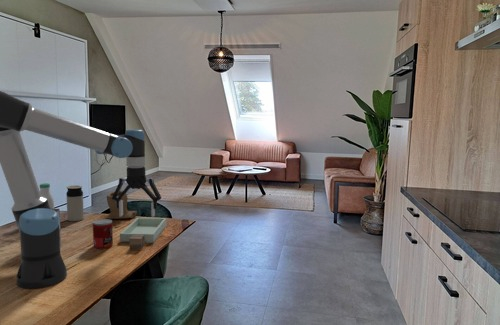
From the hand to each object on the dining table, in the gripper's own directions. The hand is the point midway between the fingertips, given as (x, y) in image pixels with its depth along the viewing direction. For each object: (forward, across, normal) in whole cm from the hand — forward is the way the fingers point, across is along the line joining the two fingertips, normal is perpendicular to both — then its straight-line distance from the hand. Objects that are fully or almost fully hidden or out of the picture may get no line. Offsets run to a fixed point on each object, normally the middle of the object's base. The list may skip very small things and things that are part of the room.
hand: (137, 216), depth 158 cm
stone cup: (+14, +22, -44) cm, 51 cm away
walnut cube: (+14, 0, 0) cm, 14 cm away
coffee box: (+14, +37, +2) cm, 40 cm away
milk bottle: (+14, +58, -35) cm, 69 cm away
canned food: (+14, +15, -1) cm, 21 cm away
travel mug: (+14, +45, -40) cm, 62 cm away
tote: (+14, +2, -19) cm, 24 cm away
